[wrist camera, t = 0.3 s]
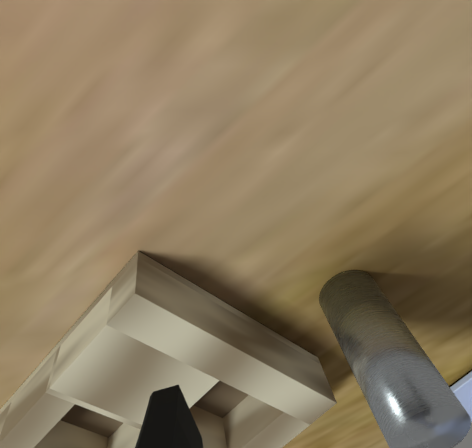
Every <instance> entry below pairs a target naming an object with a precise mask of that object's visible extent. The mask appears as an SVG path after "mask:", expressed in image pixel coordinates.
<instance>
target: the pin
mask: <svg viewBox="0 0 472 448" xmlns="http://www.w3.org/2000/svg"><path fill="white" fill-rule="evenodd" d="M319 302H320V306H321V308H322V310H323V312H324V314H325V316H326V318H327V320H328V322H329V324H330V326H331V328H332V331H333V333H334V335H335V337H336V339H337V341H338V343H339V345H340V347H341V349H342V351H343V353H344V355H345V357H346V359H347V361H348V363H349V365H350V367H351V369H352V372H353V374H354V376H355V378H356V380H357V382H358V384H359V386H360V388H361V390H362V392H363V394H364V396H365V398H366V400H367V402H368V404H369V406H370V408H371V410H372V413H373V415H374V417H375V419H376V421H377V423H378V425H379V427H380V429H381V431H382V433H383V435H384V437H385V439H386V441H387V443H388V445H389V447H390V448H453V447H454V446H456V445H457V444H458V443H459V442H461V441H462V440H463V438H464V437H465V436H466V434H467V433H468V431H469V429H470V426H471V419H470V416H469V414H468V413H467V411H466V410H465V409H464V407H463V406H462V404H461V403H460V401H459V400H458V399H457V397H456V396H455V394H454V393H453V391H452V390H451V389H450V387H449V386H448V384H447V383H446V382H445V380H444V379H443V377H442V376H441V374H440V373H439V372H438V370H437V369H436V367H435V366H434V365H433V363H432V362H431V360H430V359H429V357H428V356H427V355H426V353H425V352H424V350H423V349H422V348H421V346H420V345H419V343H418V342H417V340H416V339H415V338H414V336H413V335H412V333H411V332H410V330H409V329H408V328H407V326H406V325H405V323H404V322H403V321H402V319H401V318H400V316H399V315H398V313H397V312H396V311H395V309H394V308H393V306H392V305H391V304H390V302H389V301H388V299H387V298H386V296H385V295H384V294H383V292H382V291H381V289H380V288H379V286H378V285H377V284H376V282H375V281H374V279H373V278H372V277H371V276H370V275H369V274H367V273H366V272H363V271H359V270H349V271H345V272H342V273H339V274H337V275H335V276H334V277H332V278H331V279H330V280H328V282H327V283H326V284H325V285H324V286H323V288H322V290H321V292H320V296H319Z"/></svg>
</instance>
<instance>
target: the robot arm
mask: <svg viewBox="0 0 472 448" xmlns="http://www.w3.org/2000/svg"><path fill="white" fill-rule="evenodd" d="M450 389H451V390H452V391H453V393H454V394H455V396H456V397H457V399H458V400H459V401H460V403H461V404H462V406H463V407H464V409H465V410H466V411H467V413H468V414H469V416H470V419H471V422H472V371H471V372H470V373H468V374H467V375H466V376H464V377H463V378H462V379H460V380H459V381H458V382H456V383H455V384H454V385H452V386H451V387H450ZM135 448H203V441H202V436H201V434H200V432H199V430H198V427H197V425H196V423H195V420H194V418H193V416H192V414H191V411H190V409H189V407H188V405H187V402H186V400H185V398H184V395H183V393H182V391H181V389H180V386H179V385H175V386H172V387H168V388H164V389H161V390H157V391H154V392H153V393H152V394H151V396H150V398H149V402H148V406H147V410H146V413H145V417H144V420H143V424H142V427H141V430H140V433H139V437H138V440H137V443H136V446H135Z"/></svg>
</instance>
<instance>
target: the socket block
mask: <svg viewBox="0 0 472 448" xmlns="http://www.w3.org/2000/svg"><path fill="white" fill-rule="evenodd" d="M175 385H179V386H180V389H181V391H182V393H183V395H184V398H185V400H186V402H187V405H188V407H189V409H190V411H191V414H192V416H193V418H194V420H195V423H196V425H197V427H198V430H199V432H200V434H201V436H202V441H203V448H282V447H283V446H284V445H286V444H287V443H288V442H289V441H291V440H292V439H293V438H294V437H296V436H297V435H298V434H299V433H300V432H302V431H303V430H304V429H305V428H307V427H308V426H309V425H310V424H312V423H313V422H314V421H315V420H316V419H318V418H319V417H320V416H321V415H323V414H324V413H325V412H326V411H328V410H329V409H330V408H331V407H332V406H334V405H335V404H336V403H337V402H336V400H335V397H334V395H333V393H332V390H331V388H330V385H329V383H328V381H327V378H326V376H325V373H324V371H323V369H322V366H321V364H320V361H319V359H318V357H316V356H314V355H312V354H311V353H309V352H307V351H306V350H304V349H302V348H301V347H299V346H297V345H296V344H294V343H292V342H291V341H289V340H287V339H286V338H284V337H282V336H281V335H279V334H277V333H275V332H274V331H272V330H270V329H269V328H267V327H265V326H264V325H262V324H260V323H259V322H257V321H255V320H254V319H252V318H250V317H249V316H247V315H245V314H244V313H242V312H240V311H239V310H237V309H235V308H233V307H232V306H230V305H228V304H227V303H225V302H223V301H222V300H220V299H218V298H217V297H215V296H213V295H212V294H210V293H208V292H207V291H205V290H203V289H202V288H200V287H198V286H196V285H195V284H193V283H191V282H190V281H188V280H186V279H185V278H183V277H181V276H180V275H178V274H176V273H175V272H173V271H171V270H170V269H168V268H166V267H165V266H163V265H161V264H159V263H158V262H156V261H154V260H153V259H151V258H149V257H148V256H146V255H144V254H143V253H141V252H139V251H138V252H137V253H136V254H135V255H134V256H133V257H132V259H131V260H130V261H129V262H128V263H127V264H126V266H125V267H124V268H123V269H122V270H121V271H120V272H119V274H118V275H117V276H116V277H115V278H114V279H113V280H112V282H111V283H110V284H109V285H108V286H107V287H106V289H105V290H104V291H103V292H102V293H101V294H100V295H99V297H98V298H97V299H96V300H95V301H94V302H93V303H92V305H91V306H90V307H89V308H88V309H87V310H86V312H85V313H84V314H83V315H82V316H81V317H80V318H79V320H78V321H77V322H76V323H75V324H74V325H73V327H72V328H71V329H70V330H69V331H68V332H67V333H66V335H65V336H64V337H63V338H62V339H61V340H60V341H59V343H58V344H57V345H56V346H55V347H54V348H53V350H52V351H51V352H50V353H49V354H48V355H47V356H46V358H45V359H44V360H43V361H42V362H41V363H40V364H39V366H38V367H37V368H36V369H35V370H34V371H33V373H32V374H31V375H30V376H29V377H28V378H27V379H26V381H25V382H24V383H23V384H22V385H21V386H20V388H19V389H18V390H17V391H16V392H15V393H14V394H13V396H12V397H11V398H10V399H9V400H8V401H7V402H6V404H5V405H4V406H3V407H2V408H1V410H0V448H135V446H136V443H137V440H138V437H139V433H140V430H141V427H142V424H143V420H144V417H145V413H146V410H147V406H148V402H149V398H150V396H151V394H152V393H153V392H154V391H157V390H161V389H164V388H168V387H172V386H175Z"/></svg>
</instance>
